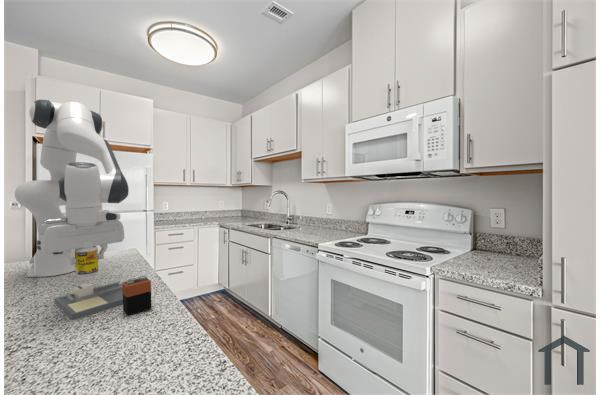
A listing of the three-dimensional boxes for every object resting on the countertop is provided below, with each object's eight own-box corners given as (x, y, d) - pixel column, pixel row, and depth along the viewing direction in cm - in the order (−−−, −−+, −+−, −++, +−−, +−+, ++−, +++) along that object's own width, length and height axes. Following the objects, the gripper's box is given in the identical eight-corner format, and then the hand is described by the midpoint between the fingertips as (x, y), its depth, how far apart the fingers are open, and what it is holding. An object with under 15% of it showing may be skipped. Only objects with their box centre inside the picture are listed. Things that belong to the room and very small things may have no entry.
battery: (151, 308, 88) (151, 277, 87) (127, 316, 83) (126, 283, 82) (146, 304, 91) (146, 273, 90) (122, 311, 86) (121, 279, 85)
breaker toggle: (74, 297, 91) (73, 286, 91) (89, 293, 95) (88, 282, 94) (78, 300, 89) (77, 289, 89) (93, 296, 92) (93, 285, 92)
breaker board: (54, 302, 91) (54, 294, 91) (117, 286, 105) (117, 278, 105) (72, 319, 80) (72, 310, 80) (139, 298, 95) (139, 290, 94)
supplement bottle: (74, 278, 82) (73, 244, 82) (76, 273, 87) (75, 240, 86) (98, 275, 85) (96, 241, 85) (99, 269, 90) (97, 238, 89)
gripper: (41, 221, 75) (44, 272, 76) (125, 213, 91) (127, 256, 92) (35, 219, 79) (38, 268, 80) (117, 212, 95) (119, 252, 96)
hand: (86, 261), depth 86 cm, fingers closed on supplement bottle, 5 cm apart
